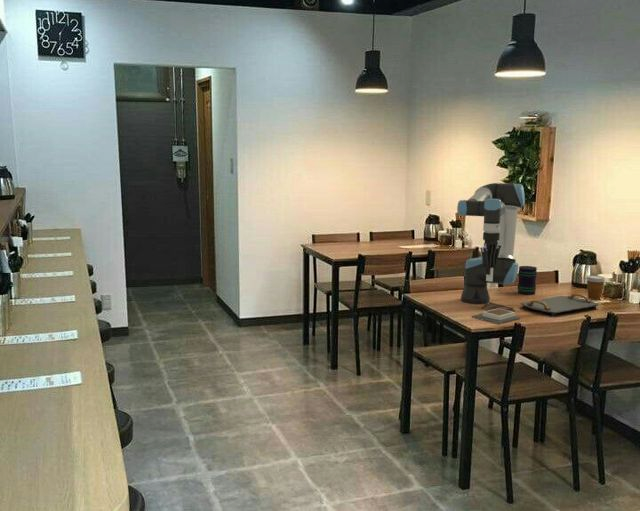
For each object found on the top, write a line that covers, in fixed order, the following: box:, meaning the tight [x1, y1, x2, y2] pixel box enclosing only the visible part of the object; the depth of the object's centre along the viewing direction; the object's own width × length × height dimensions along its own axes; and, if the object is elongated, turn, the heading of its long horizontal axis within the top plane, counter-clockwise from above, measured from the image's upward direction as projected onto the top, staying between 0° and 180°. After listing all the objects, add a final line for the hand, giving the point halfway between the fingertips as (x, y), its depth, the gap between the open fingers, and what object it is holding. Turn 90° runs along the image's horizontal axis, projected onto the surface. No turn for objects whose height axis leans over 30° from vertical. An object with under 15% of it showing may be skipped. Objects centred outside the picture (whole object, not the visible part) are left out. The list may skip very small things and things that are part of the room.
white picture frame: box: [482, 308, 516, 320], centre depth 304 cm, size 10×2×12 cm
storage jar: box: [517, 265, 538, 296], centre depth 355 cm, size 10×10×15 cm
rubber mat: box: [471, 312, 521, 325], centre depth 303 cm, size 16×16×1 cm
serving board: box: [520, 293, 599, 317], centre depth 322 cm, size 39×23×6 cm, turn 120°
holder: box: [481, 302, 516, 313], centre depth 317 cm, size 14×8×3 cm, turn 38°
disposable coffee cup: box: [585, 275, 606, 300], centre depth 344 cm, size 10×10×12 cm
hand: (489, 280), depth 298 cm, fingers closed
